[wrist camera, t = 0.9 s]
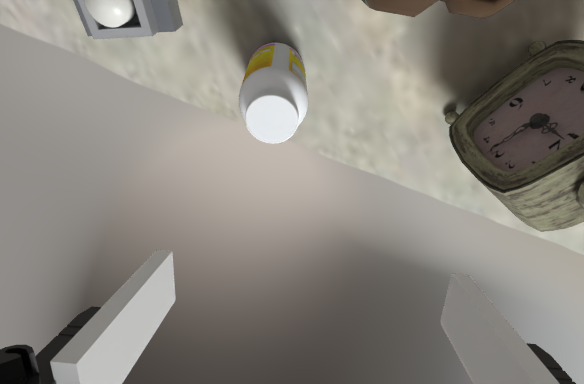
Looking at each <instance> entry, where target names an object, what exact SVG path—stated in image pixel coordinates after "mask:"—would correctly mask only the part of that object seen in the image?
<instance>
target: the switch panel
mask: <svg viewBox="0 0 584 384" xmlns="http://www.w3.org/2000/svg"><path fill="white" fill-rule="evenodd" d="M133 1H134V5H135V8H136V11H135V15H134V17H133V18H132V19H131V20H130V21H128V22H126V23H124V24H123V25H121V26H119V27H107V26H104V25H102V24H100V23H99V22H98V21H96V20H95V19H94V18H93V17H92V15H91V14H90V13H89V11H88V9H87V7H86V4H85V0H74V3H75V5H76V8H77V10H78V13H79V15H80V18H81V20H82V23H83V25H84V27H85V30H86V32H87V35H88V36H92V37H93V39H107V38H126V37H144V36H153V35H155V34H156V33H157V32H173V31H176V30H177V29H179V28H180V27H181V26H182V25H183V23H182V18H181V14H180V10H179V6H178V1H177V0H133Z"/></svg>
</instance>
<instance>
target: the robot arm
mask: <svg viewBox="0 0 584 384" xmlns="http://www.w3.org/2000/svg"><path fill="white" fill-rule="evenodd" d="M174 302H175V286H174V270H173V255H172V251H162V250H156V251H155V252H154V253H153V254H152V255H151V256H150V257H149V258H148V260H146V262H145V263H144V264H143V265H142V266H141V267H140V268H139V269H138V270H137V271H136V272H135V273H134V274H133V275H132V276H131V277H130V278H129V279H128V280H127V281H126V283H125V284H124V285H123V286H122V287H121V288H120V289H119V290H118V291H117V292H116V293H115V294H114V295H113V296H112V297H111V298H110V299H109V300H108V301H107V302H106V303H105V304H104V306H103V307H91V308H89V309H87V310H86V311H84V312H82V313H80V314H79V315H78V316H77V317H76V318H74V319H73V320H72V321H71V322H70V324H68V325H67V327H65V328H64V329H63V330H62V331H61V332H60V333H59V335H58V336H56V337H55V338H54V339H53V340H52V341H51V342H50V343H49V344H48V345H47V346H46V347H45V348H44V349H42V350H41V352H39V353H38V354H37V355H36V356H35V354H34V351H33V349H32V347H30V346H27V345H14V346H10V347H5V348H3V349H0V384H122V383H123V381H124V380H125V378H126V377H127V375H128V373H129V372H130V370H131V369H132V367H133V366H134V364H135V363H136V361H137V359H138V358H139V356H140V355H141V353H142V352H143V350H144V348H145V347H146V345H147V344H148V342H149V341H150V339H151V338H152V336H153V334H154V333H155V331H156V330H157V328H158V327H159V325H160V323H161V322H162V320H163V319H164V317H165V315H166V314H167V312H168V311H169V309H170V308H171V306H172V305H173V303H174ZM440 323H441V325H442V327H443V329H444V331H445V333H446V334H447V336H448V338H449V340H450V342H451V343H452V346H453V347H454V349H455V351H456V353H457V355H458V357H459V358H460V360H461V362H462V364H463V365H464V367H465V369H466V371H467V373H468V375H469V377H470V379H471V380H472V382H473V384H576V383H575V382H572V379H571V378H570V377H569V376H568V375H567V373H566V372H565V371H563V370H562V368H561V366H560V365H559V364H558V363H557V362H556V361H555V360H554V359H553V358H552V356H550V355H549V354H548V353H546V352H545V351H544V350H543V349H541V348H540V347H539V346H537V345H536V344H526V343H525V342H524V340H523V339H522V338H521V337H520V336H519V334H518V333H517V332H516V331H515V330H514V328H513V327H512V326H511V325H510V324H509V322H508V321H507V320H506V319H505V318H504V316H503V315H502V314H501V313H500V312H499V310H498V309H497V308H496V307H495V306H494V304H493V303H492V302H491V301H490V300H489V298H488V297H487V296H486V295H485V294H484V292H483V291H482V290H481V289H480V288H479V287H478V285H477V284H476V283H475V282H474V280H473V279H472V278H471V277H470V276H469V275H465V274H452V275H451V279H450V283H449V288H448V292H447V296H446V300H445V305H444V308H443V313H442V317H441V321H440Z"/></svg>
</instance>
